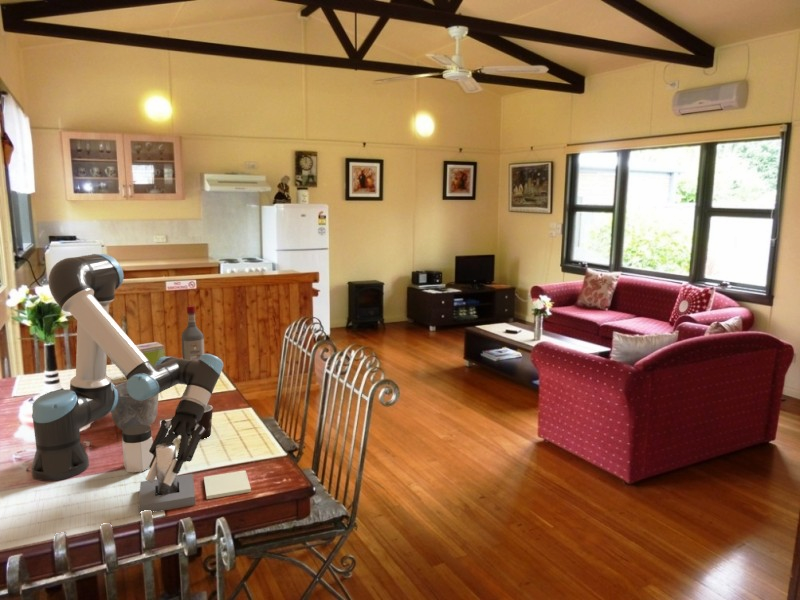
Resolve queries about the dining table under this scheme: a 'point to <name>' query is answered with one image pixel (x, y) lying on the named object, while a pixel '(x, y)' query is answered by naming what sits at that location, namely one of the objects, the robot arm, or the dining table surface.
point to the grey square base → (167, 495)
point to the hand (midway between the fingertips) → (158, 482)
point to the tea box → (152, 351)
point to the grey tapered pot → (133, 409)
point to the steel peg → (165, 466)
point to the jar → (137, 448)
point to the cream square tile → (226, 484)
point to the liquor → (192, 338)
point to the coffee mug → (206, 421)
